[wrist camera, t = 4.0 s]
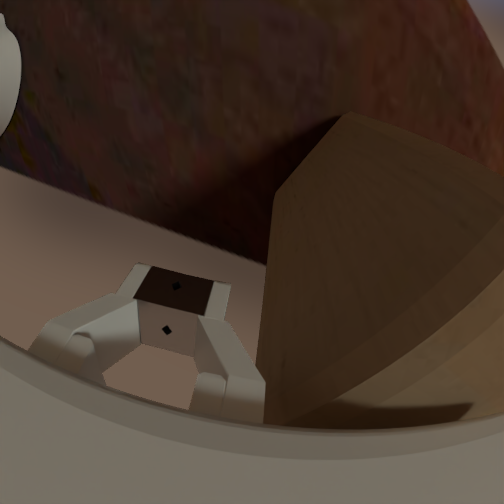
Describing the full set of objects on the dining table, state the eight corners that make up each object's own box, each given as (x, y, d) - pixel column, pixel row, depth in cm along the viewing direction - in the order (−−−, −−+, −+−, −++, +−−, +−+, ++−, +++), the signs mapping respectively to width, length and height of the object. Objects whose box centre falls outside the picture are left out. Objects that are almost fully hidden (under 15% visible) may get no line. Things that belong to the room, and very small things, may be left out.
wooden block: (352, 262, 27) (402, 479, 9) (268, 197, 24) (230, 447, 7) (427, 187, 22) (578, 363, 5) (347, 105, 20) (566, 194, 2)
